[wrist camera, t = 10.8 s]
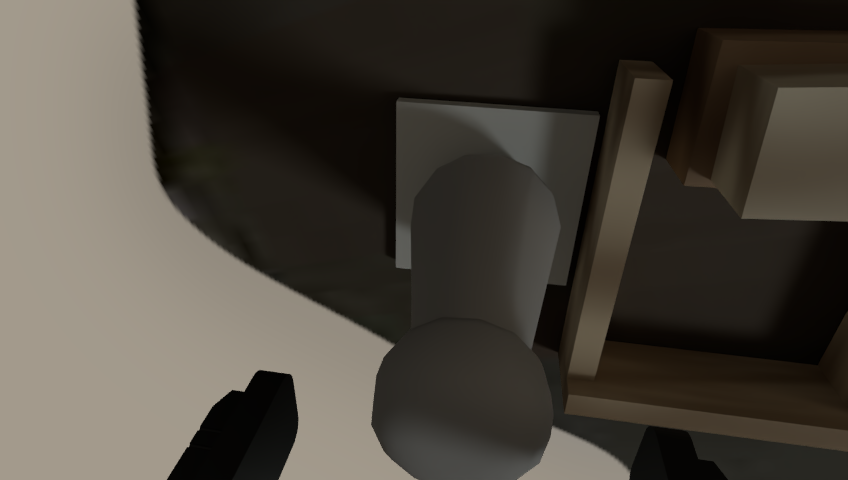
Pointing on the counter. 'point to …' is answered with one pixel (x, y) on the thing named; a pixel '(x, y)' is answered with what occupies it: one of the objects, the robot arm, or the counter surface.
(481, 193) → the salt shaker
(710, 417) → the frame
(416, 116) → the coaster
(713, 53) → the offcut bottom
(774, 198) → the offcut top
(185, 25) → the counter surface
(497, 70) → the counter surface
